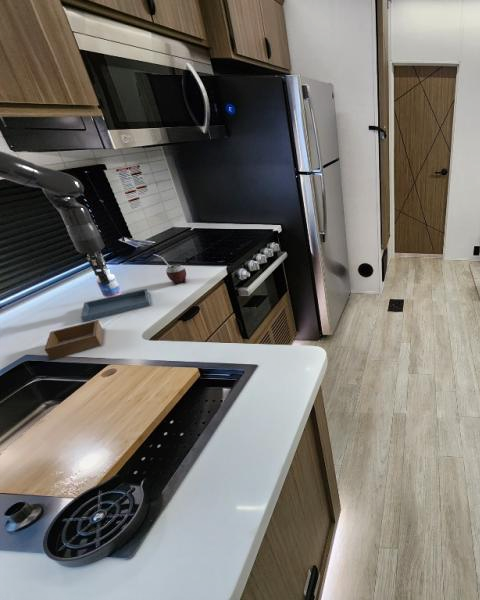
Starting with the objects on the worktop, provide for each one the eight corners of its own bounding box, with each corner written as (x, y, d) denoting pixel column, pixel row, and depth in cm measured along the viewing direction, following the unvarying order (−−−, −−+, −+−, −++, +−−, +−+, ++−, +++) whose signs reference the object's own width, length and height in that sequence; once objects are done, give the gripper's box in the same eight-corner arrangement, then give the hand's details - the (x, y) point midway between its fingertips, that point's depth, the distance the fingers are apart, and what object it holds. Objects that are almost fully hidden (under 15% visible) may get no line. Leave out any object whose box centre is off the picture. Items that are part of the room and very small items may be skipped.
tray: (84, 323, 116) (80, 317, 115) (87, 308, 126) (84, 302, 124) (151, 306, 126) (148, 300, 125) (148, 294, 136) (146, 288, 135)
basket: (51, 361, 97) (44, 349, 95) (57, 343, 105) (50, 331, 103) (102, 347, 103) (95, 335, 101) (103, 331, 111) (97, 319, 109)
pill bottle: (99, 296, 121) (87, 272, 117) (114, 290, 126) (103, 266, 122) (111, 298, 120) (99, 273, 116) (125, 292, 125) (115, 268, 120)
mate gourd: (192, 280, 148) (182, 248, 141) (180, 288, 141) (168, 254, 134) (177, 279, 149) (166, 247, 142) (164, 287, 142) (152, 254, 135)
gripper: (73, 233, 116) (94, 277, 124) (68, 243, 106) (92, 291, 114) (100, 229, 120) (119, 272, 128) (98, 239, 110) (119, 285, 117)
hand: (106, 281), depth 121 cm, fingers closed on pill bottle, 5 cm apart
